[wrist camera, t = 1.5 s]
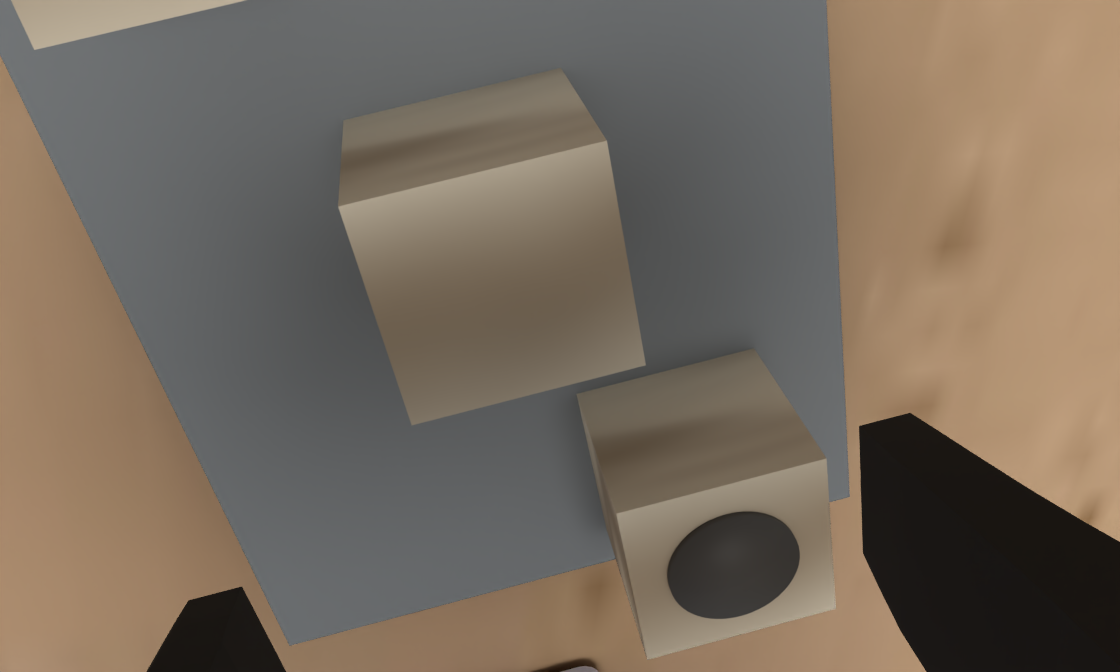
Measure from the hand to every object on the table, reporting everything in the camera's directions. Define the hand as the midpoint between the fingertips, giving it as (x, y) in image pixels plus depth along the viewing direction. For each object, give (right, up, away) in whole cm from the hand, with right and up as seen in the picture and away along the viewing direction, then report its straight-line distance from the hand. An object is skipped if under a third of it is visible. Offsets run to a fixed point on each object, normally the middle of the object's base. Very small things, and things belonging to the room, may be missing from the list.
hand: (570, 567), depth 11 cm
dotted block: (+3, 0, +11) cm, 11 cm away
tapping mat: (-2, +6, +8) cm, 10 cm away
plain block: (-2, +5, +7) cm, 9 cm away
